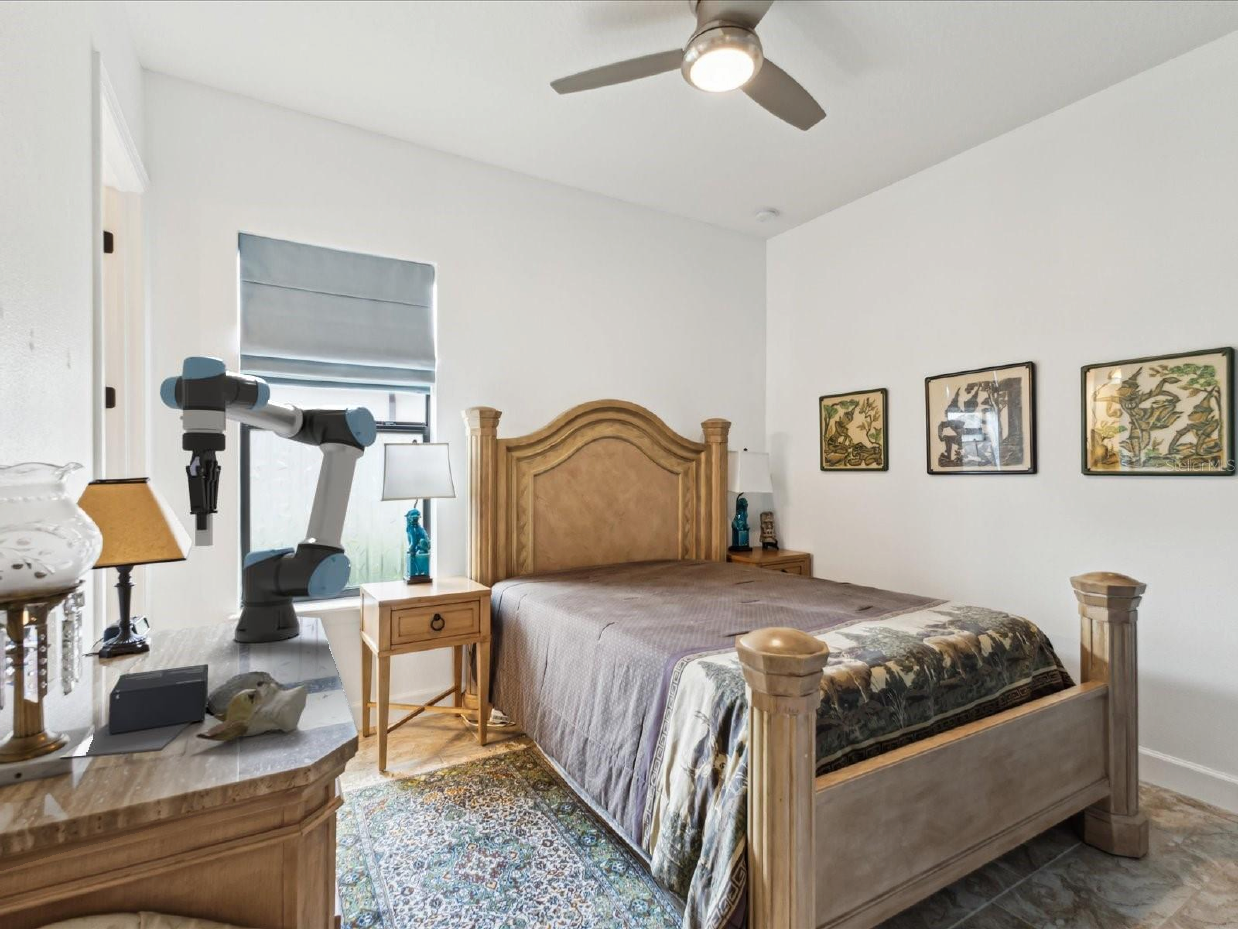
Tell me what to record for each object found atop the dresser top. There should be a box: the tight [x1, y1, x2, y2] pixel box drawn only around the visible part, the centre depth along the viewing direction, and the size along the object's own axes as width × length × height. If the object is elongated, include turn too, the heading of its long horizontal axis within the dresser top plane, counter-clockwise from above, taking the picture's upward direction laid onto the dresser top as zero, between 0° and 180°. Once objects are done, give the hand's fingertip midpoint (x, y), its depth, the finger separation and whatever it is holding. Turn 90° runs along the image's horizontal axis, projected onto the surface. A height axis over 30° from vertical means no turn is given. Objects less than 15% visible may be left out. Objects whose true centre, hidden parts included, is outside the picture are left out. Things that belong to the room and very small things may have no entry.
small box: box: [107, 663, 209, 735], centre depth 108 cm, size 13×7×12 cm
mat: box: [86, 706, 208, 757], centre depth 103 cm, size 18×13×1 cm
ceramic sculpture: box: [195, 681, 309, 742], centre depth 103 cm, size 11×9×15 cm
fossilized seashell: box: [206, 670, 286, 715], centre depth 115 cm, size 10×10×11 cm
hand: (203, 545), depth 130 cm, fingers closed
